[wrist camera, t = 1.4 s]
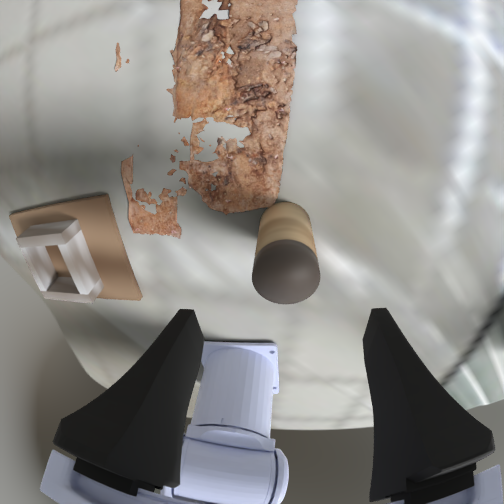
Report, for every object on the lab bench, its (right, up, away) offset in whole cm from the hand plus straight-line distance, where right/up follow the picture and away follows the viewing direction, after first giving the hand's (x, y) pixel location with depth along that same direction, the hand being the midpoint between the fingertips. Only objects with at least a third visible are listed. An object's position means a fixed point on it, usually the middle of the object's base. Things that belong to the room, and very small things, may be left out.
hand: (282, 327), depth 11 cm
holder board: (-19, +3, +12) cm, 22 cm away
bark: (-5, +13, +4) cm, 15 cm away
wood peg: (+1, +5, +8) cm, 10 cm away
